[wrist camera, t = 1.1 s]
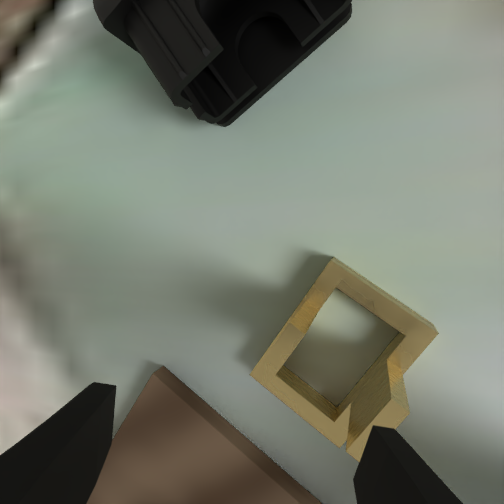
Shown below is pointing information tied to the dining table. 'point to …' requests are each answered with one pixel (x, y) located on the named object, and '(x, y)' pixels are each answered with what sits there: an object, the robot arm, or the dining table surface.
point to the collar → (374, 380)
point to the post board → (187, 456)
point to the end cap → (222, 45)
